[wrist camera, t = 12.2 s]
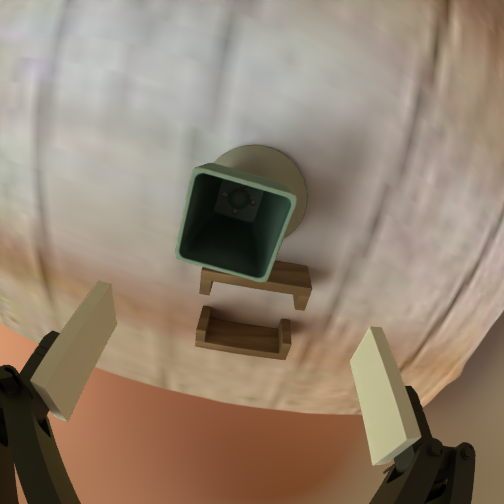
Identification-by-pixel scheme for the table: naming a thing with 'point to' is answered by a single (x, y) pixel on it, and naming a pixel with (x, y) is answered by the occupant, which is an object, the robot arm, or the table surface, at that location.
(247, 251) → the flower pot
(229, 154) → the olive beige round disc
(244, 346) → the frame
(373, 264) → the table surface
